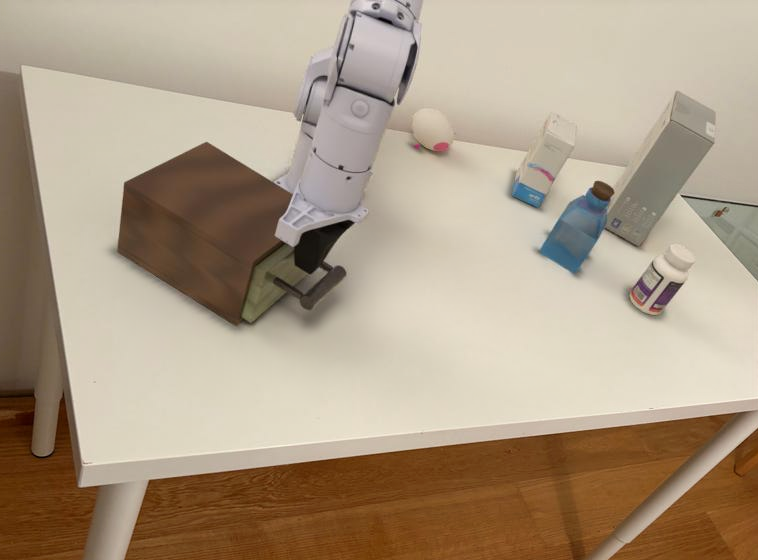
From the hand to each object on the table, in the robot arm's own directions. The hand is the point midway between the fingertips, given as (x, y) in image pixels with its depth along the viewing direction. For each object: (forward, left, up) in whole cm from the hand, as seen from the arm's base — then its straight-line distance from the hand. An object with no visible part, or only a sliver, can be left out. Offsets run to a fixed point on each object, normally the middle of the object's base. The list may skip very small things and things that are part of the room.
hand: (305, 267), depth 74 cm
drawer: (0, -6, -5) cm, 8 cm away
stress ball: (-49, -5, -6) cm, 50 cm away
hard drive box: (-63, +28, -6) cm, 69 cm away
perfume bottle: (-41, +22, -6) cm, 47 cm away
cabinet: (0, -10, -6) cm, 12 cm away
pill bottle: (-41, +36, -6) cm, 55 cm away
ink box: (-53, +12, -6) cm, 55 cm away
